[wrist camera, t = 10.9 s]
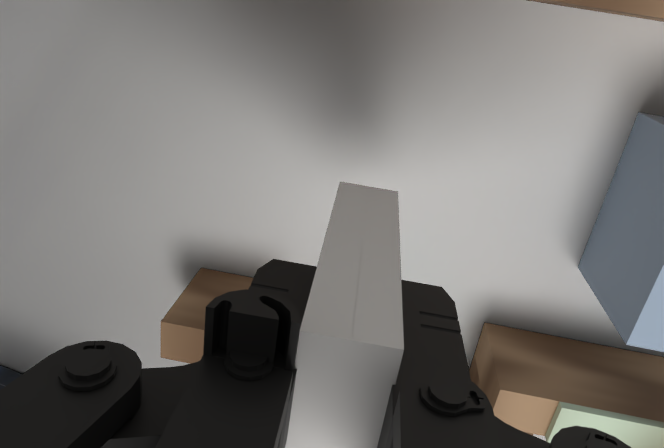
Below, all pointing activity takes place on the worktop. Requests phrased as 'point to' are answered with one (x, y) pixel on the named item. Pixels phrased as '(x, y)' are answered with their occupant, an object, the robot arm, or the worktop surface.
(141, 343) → the worktop surface
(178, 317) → the wooden zigzag frame
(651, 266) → the block
